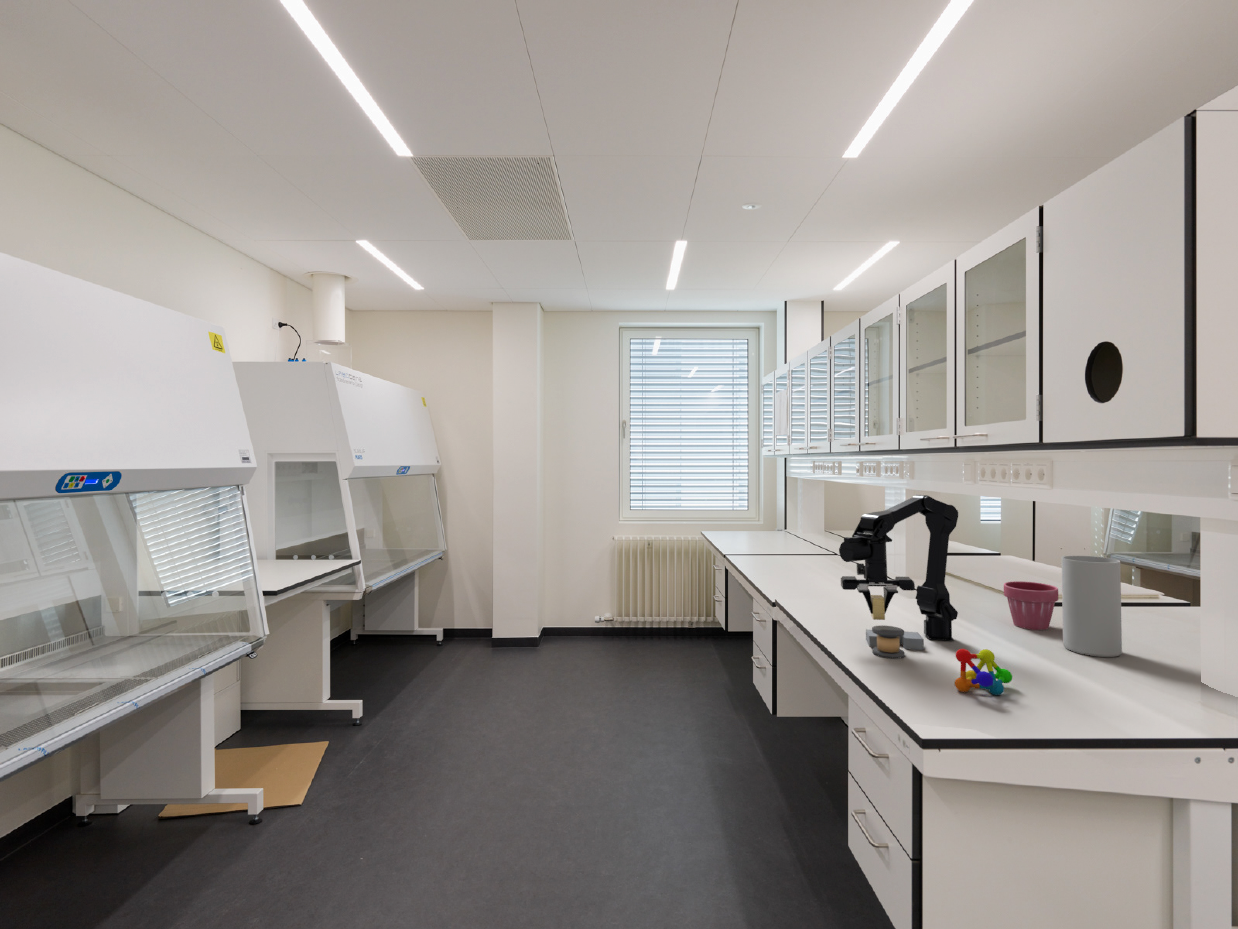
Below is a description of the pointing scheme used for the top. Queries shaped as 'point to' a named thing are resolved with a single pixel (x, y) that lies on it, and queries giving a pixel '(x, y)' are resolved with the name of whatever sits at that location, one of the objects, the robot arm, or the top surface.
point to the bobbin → (888, 642)
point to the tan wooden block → (878, 607)
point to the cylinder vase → (1092, 605)
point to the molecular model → (981, 672)
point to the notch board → (907, 640)
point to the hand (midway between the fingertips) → (877, 613)
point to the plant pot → (1031, 603)
